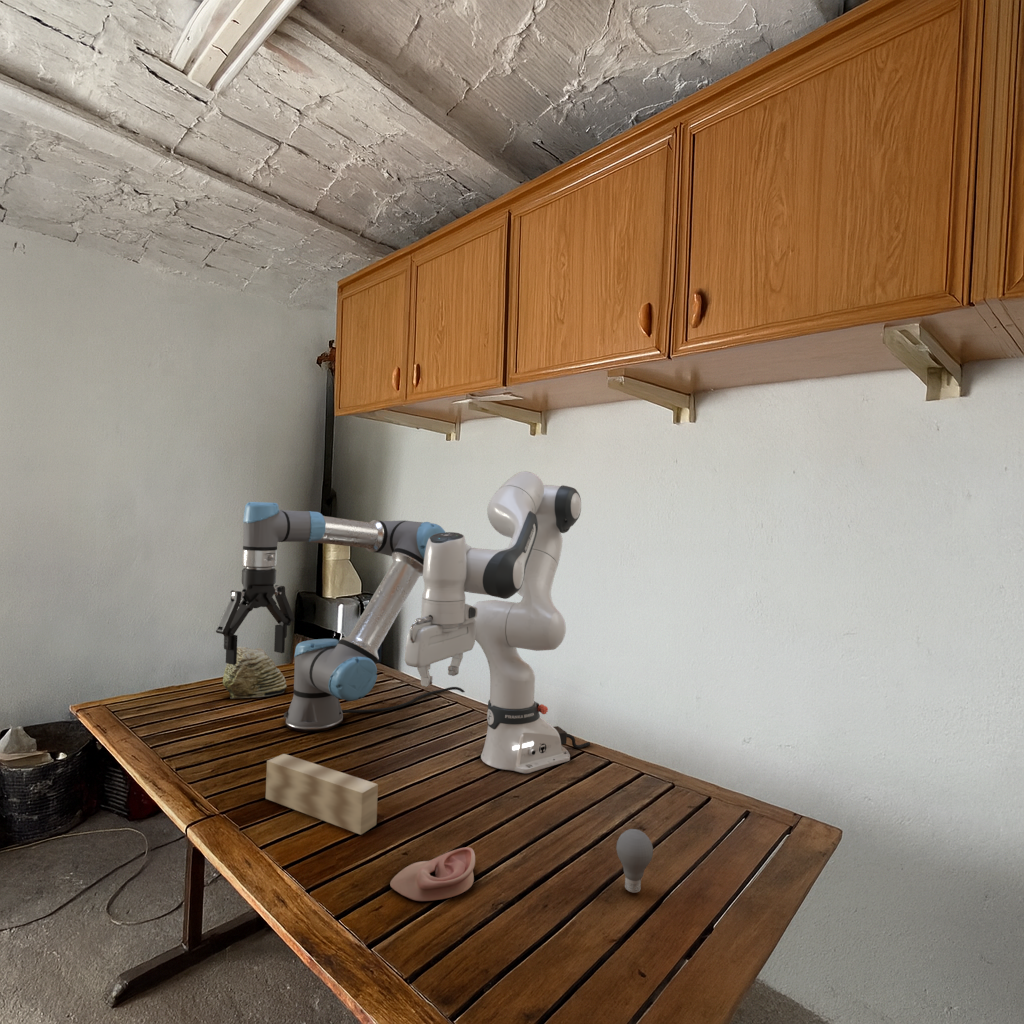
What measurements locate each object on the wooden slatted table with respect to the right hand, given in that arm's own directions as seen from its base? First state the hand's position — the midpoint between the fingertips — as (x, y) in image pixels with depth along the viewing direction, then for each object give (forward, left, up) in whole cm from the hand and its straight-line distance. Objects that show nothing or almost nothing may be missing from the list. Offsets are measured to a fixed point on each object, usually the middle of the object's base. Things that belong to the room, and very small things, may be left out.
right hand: (440, 680), depth 129 cm
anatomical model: (+8, +22, -27) cm, 36 cm away
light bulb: (-21, +38, -27) cm, 51 cm away
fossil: (+26, -91, -27) cm, 98 cm away
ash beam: (+21, -9, -27) cm, 36 cm away
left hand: (+31, -39, -2) cm, 50 cm away
